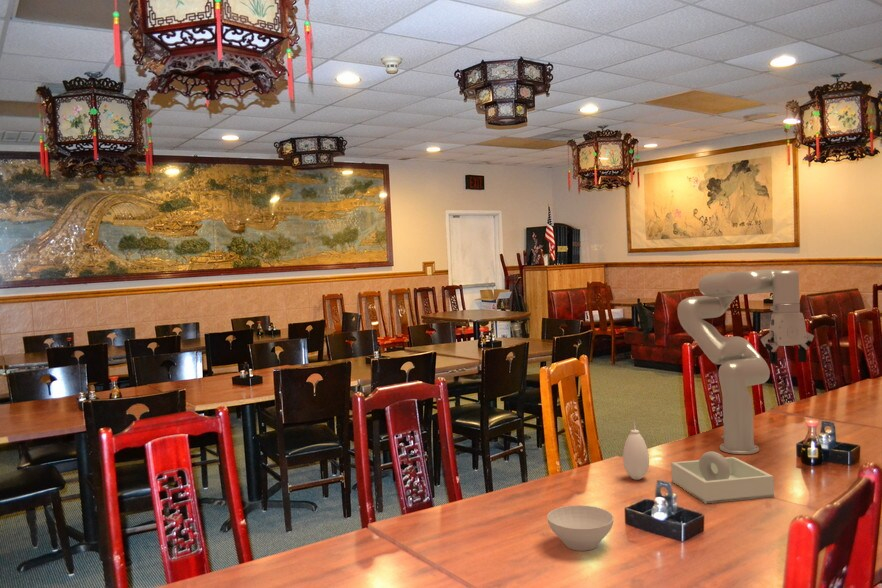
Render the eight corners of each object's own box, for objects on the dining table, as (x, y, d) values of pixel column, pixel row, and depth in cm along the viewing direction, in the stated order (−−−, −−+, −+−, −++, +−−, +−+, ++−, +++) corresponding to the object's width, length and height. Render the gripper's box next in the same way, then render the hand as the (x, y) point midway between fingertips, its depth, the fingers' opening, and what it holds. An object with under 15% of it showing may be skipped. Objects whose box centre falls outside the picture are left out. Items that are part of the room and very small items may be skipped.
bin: (671, 481, 214) (671, 462, 214) (734, 475, 217) (733, 456, 217) (705, 504, 194) (704, 482, 194) (774, 497, 197) (773, 476, 196)
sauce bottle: (650, 483, 214) (648, 424, 214) (624, 482, 216) (622, 424, 215) (648, 475, 222) (646, 419, 221) (623, 475, 224) (620, 419, 223)
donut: (697, 482, 211) (695, 449, 210) (704, 479, 212) (703, 447, 212) (725, 490, 202) (724, 456, 202) (733, 487, 204) (732, 454, 203)
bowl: (568, 527, 182) (567, 501, 182) (626, 540, 172) (624, 512, 172) (535, 549, 170) (534, 520, 170) (595, 564, 160) (594, 534, 160)
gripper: (767, 311, 216) (769, 366, 217) (819, 308, 219) (821, 362, 219) (754, 310, 224) (755, 363, 225) (804, 306, 226) (805, 359, 227)
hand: (788, 362), depth 222 cm, fingers open, 9 cm apart
